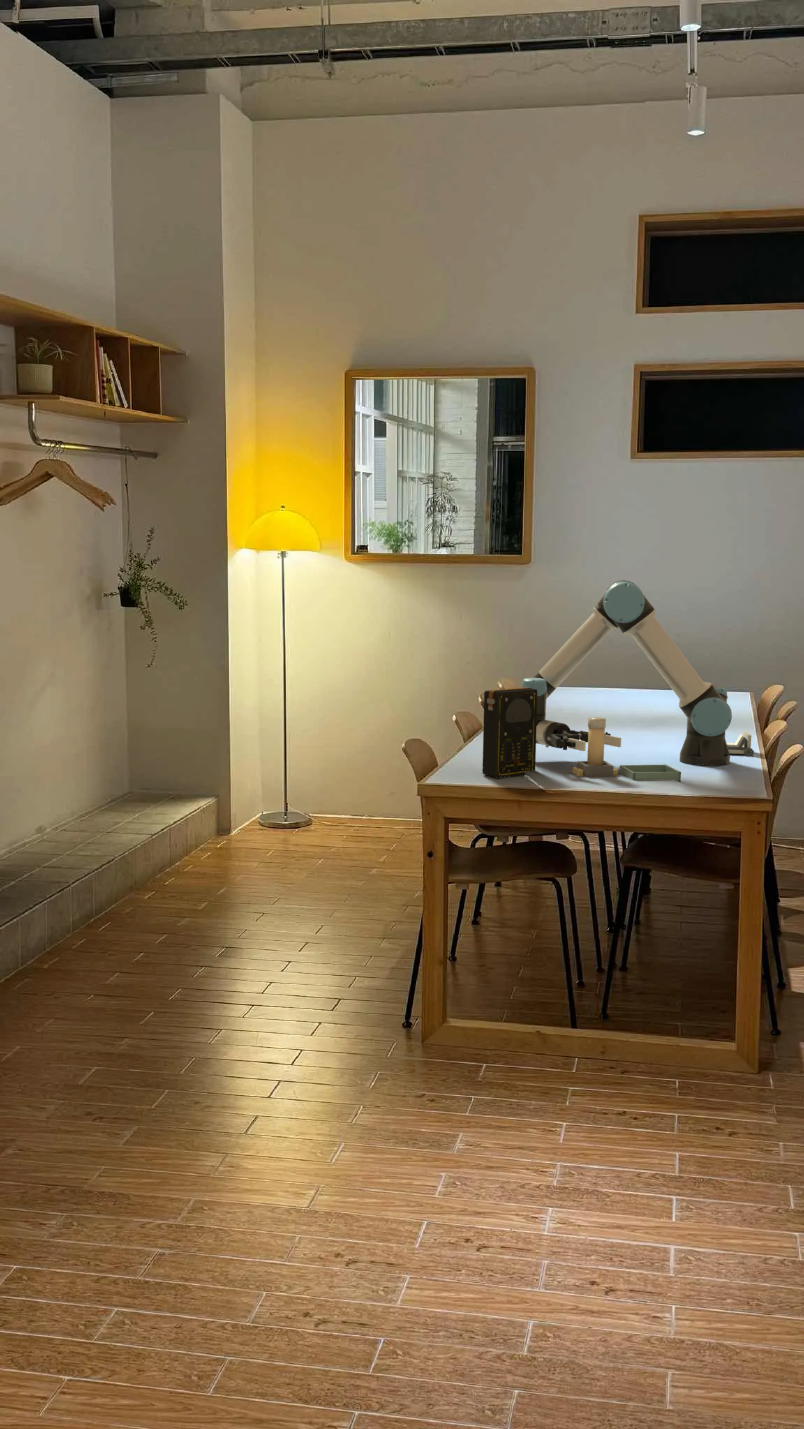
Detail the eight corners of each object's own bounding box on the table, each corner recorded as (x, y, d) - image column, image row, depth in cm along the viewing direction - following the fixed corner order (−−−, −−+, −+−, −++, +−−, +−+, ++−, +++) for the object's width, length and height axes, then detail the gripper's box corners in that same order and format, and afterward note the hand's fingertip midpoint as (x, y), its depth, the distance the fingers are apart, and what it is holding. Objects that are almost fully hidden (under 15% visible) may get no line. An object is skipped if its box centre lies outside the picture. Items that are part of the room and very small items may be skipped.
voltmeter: (497, 779, 374) (499, 692, 370) (478, 775, 380) (479, 688, 377) (538, 774, 383) (541, 688, 379) (519, 769, 390) (521, 685, 386)
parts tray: (665, 774, 385) (666, 764, 385) (680, 782, 373) (681, 772, 373) (619, 775, 383) (619, 765, 382) (633, 783, 371) (633, 772, 371)
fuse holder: (609, 773, 385) (610, 760, 385) (620, 780, 376) (621, 766, 375) (569, 774, 384) (570, 760, 383) (579, 780, 374) (580, 766, 373)
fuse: (600, 772, 382) (602, 717, 380) (606, 775, 377) (608, 719, 375) (584, 772, 381) (586, 717, 379) (589, 775, 377) (591, 719, 374)
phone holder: (697, 725, 420) (693, 720, 431) (696, 755, 421) (692, 749, 433) (755, 727, 418) (750, 721, 429) (753, 757, 419) (748, 751, 430)
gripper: (584, 743, 401) (634, 753, 383) (520, 750, 387) (568, 761, 369) (585, 718, 400) (635, 728, 382) (521, 724, 386) (569, 734, 368)
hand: (602, 744), depth 376 cm, fingers open, 13 cm apart
